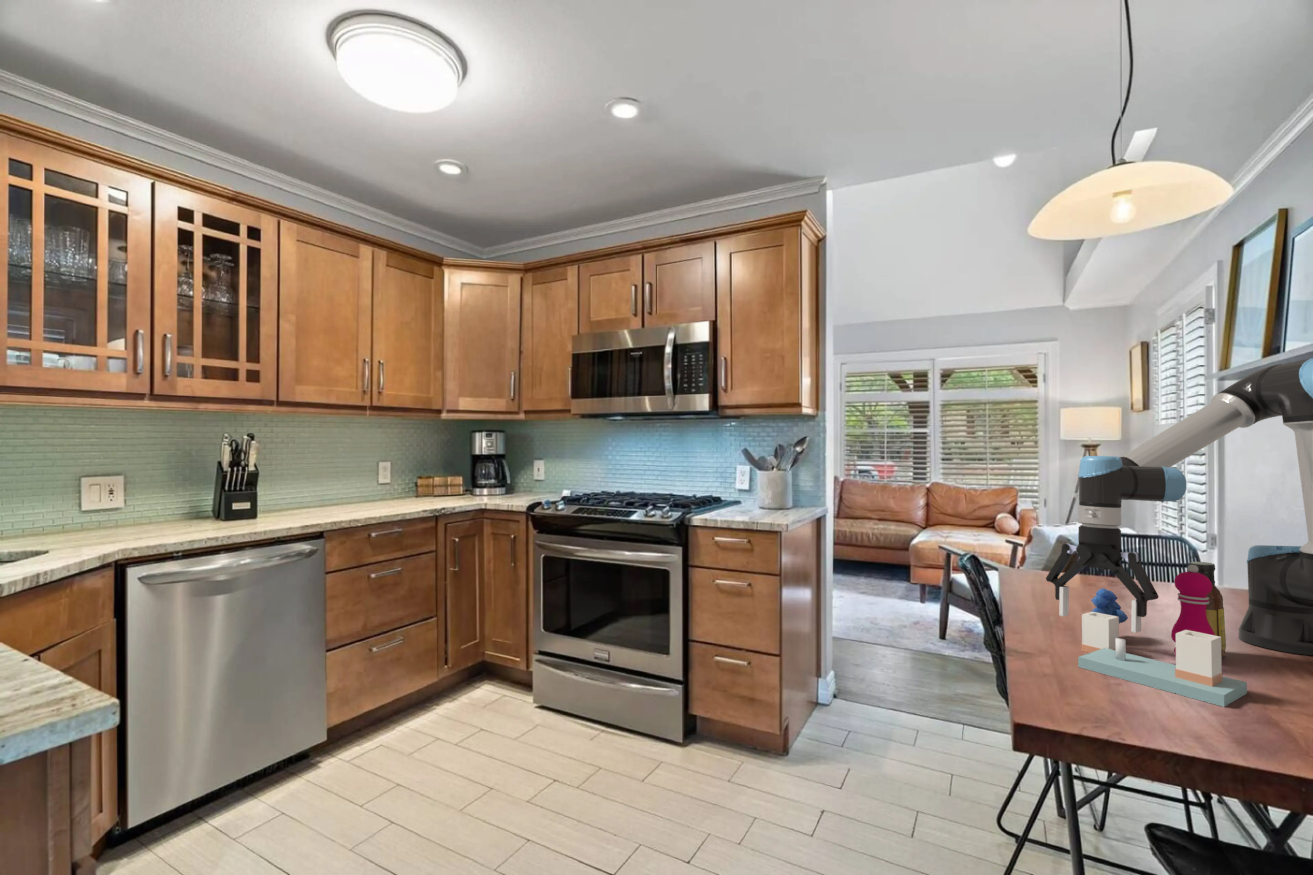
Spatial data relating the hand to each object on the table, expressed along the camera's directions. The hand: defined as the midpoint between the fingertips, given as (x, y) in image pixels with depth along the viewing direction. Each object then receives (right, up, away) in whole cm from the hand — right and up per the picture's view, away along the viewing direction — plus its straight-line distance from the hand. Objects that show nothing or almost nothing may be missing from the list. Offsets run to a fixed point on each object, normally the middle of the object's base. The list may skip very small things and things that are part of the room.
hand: (1098, 623), depth 129 cm
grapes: (+10, -7, +9) cm, 15 cm away
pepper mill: (+18, -7, -4) cm, 19 cm away
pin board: (-1, -6, -16) cm, 17 cm away
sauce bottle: (+24, -7, 0) cm, 25 cm away
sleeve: (0, -6, 0) cm, 6 cm away
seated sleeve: (+3, -4, -21) cm, 22 cm away
